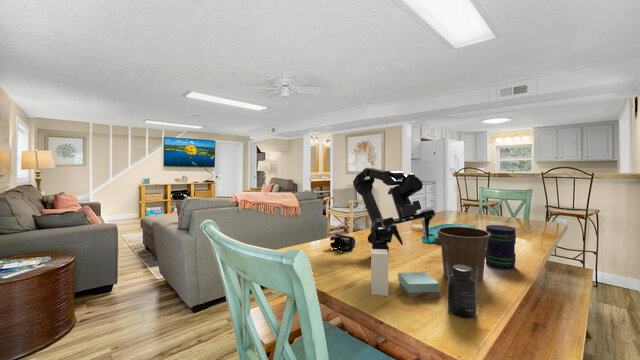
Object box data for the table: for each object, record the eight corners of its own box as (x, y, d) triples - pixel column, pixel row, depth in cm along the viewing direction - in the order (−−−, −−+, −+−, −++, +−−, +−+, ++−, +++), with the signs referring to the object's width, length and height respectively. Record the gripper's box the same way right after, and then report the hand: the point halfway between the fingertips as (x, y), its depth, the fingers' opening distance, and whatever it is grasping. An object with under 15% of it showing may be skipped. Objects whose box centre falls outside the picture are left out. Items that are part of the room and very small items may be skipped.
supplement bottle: (442, 306, 77) (442, 263, 76) (466, 305, 77) (466, 262, 77) (456, 320, 70) (457, 272, 69) (482, 318, 70) (483, 271, 70)
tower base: (410, 301, 81) (410, 292, 81) (399, 288, 90) (399, 280, 90) (440, 300, 82) (440, 291, 82) (426, 287, 91) (426, 279, 91)
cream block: (371, 294, 84) (371, 253, 84) (371, 287, 89) (371, 248, 89) (388, 295, 83) (388, 254, 83) (387, 288, 88) (387, 249, 88)
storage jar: (486, 268, 106) (486, 228, 106) (483, 260, 115) (484, 224, 115) (518, 271, 102) (518, 231, 101) (512, 263, 111) (513, 226, 110)
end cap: (355, 250, 131) (355, 235, 131) (346, 253, 126) (346, 238, 126) (339, 246, 138) (339, 232, 138) (329, 249, 133) (329, 235, 133)
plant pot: (469, 290, 86) (469, 239, 86) (427, 273, 101) (427, 229, 100) (500, 280, 94) (501, 233, 93) (457, 266, 108) (457, 224, 108)
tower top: (408, 292, 81) (408, 284, 81) (398, 280, 90) (398, 272, 90) (438, 291, 82) (439, 283, 82) (425, 279, 91) (425, 272, 91)
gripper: (378, 201, 99) (391, 244, 93) (430, 188, 98) (447, 232, 92) (377, 209, 109) (388, 248, 104) (424, 197, 108) (439, 237, 102)
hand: (415, 242), depth 100 cm, fingers open, 9 cm apart
